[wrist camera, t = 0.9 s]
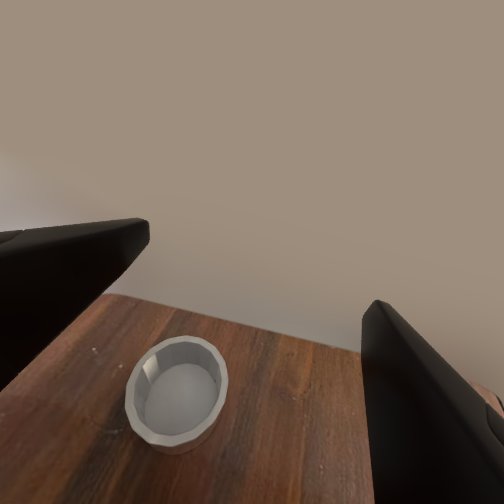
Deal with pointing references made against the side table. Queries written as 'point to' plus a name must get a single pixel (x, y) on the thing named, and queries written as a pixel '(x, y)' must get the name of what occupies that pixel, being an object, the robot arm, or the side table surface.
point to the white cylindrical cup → (177, 394)
